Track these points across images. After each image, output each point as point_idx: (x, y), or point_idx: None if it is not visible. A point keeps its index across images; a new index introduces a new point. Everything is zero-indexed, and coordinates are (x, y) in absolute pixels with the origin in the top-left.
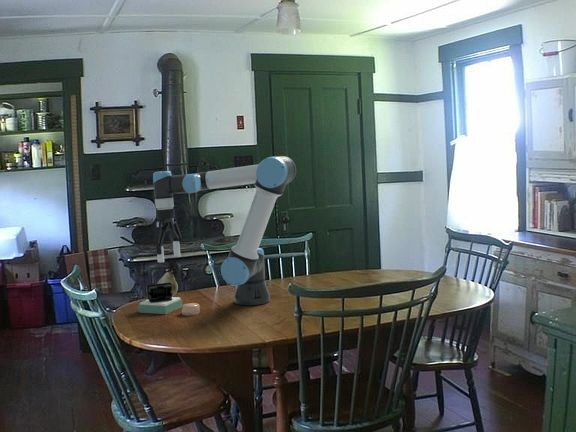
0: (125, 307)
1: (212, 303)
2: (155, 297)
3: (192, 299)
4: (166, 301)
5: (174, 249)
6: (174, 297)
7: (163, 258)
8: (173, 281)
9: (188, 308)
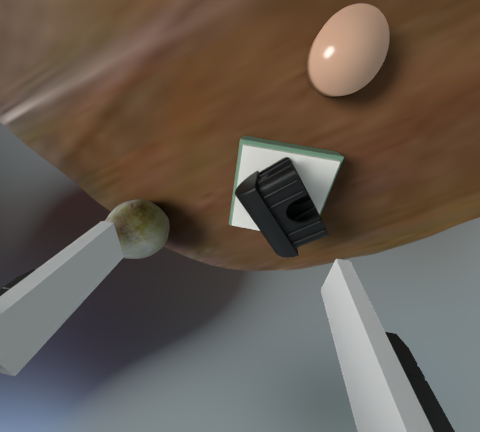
0: (256, 267)
1: (187, 33)
2: (301, 209)
3: (153, 140)
4: (301, 170)
5: (83, 292)
6: (243, 166)
7: (355, 282)
8: (125, 219)
9: (386, 47)
